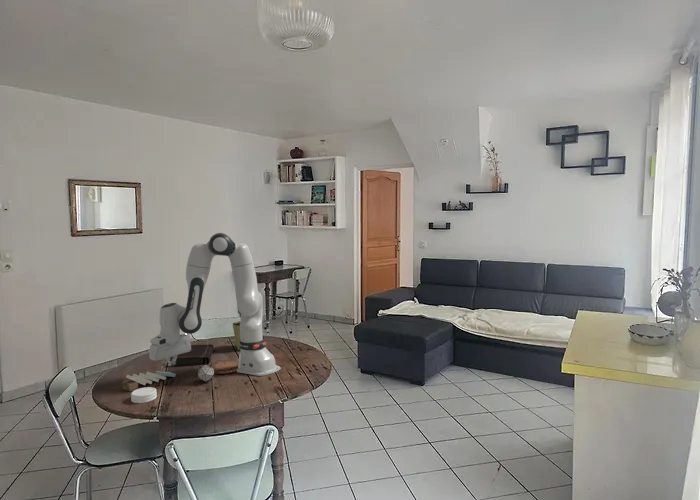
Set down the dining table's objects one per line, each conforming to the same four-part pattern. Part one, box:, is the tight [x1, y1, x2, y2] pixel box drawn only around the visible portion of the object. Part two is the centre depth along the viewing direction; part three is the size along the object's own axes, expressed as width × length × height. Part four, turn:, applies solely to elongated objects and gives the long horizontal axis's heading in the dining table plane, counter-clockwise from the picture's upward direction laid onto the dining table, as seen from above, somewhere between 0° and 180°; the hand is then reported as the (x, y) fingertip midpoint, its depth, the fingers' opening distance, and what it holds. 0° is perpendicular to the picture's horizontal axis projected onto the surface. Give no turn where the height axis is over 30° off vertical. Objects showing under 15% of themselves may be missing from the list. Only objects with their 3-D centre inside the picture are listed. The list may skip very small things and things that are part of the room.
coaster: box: [130, 386, 158, 404], centre depth 196 cm, size 10×10×4 cm
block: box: [122, 379, 139, 393], centre depth 208 cm, size 7×4×3 cm, turn 52°
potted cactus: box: [232, 308, 241, 351], centre depth 271 cm, size 15×15×30 cm
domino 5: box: [155, 370, 177, 378], centre depth 221 cm, size 4×1×8 cm
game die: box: [196, 364, 216, 384], centre depth 216 cm, size 9×8×10 cm
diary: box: [173, 343, 215, 368], centre depth 252 cm, size 19×25×5 cm
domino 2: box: [132, 373, 154, 385], centre depth 212 cm, size 4×1×8 cm
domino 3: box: [138, 372, 160, 383], centre depth 215 cm, size 4×1×8 cm
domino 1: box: [125, 374, 147, 386], centre depth 210 cm, size 4×1×8 cm
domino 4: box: [146, 371, 167, 381], centre depth 218 cm, size 4×1×8 cm
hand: (171, 365), depth 224 cm, fingers closed
